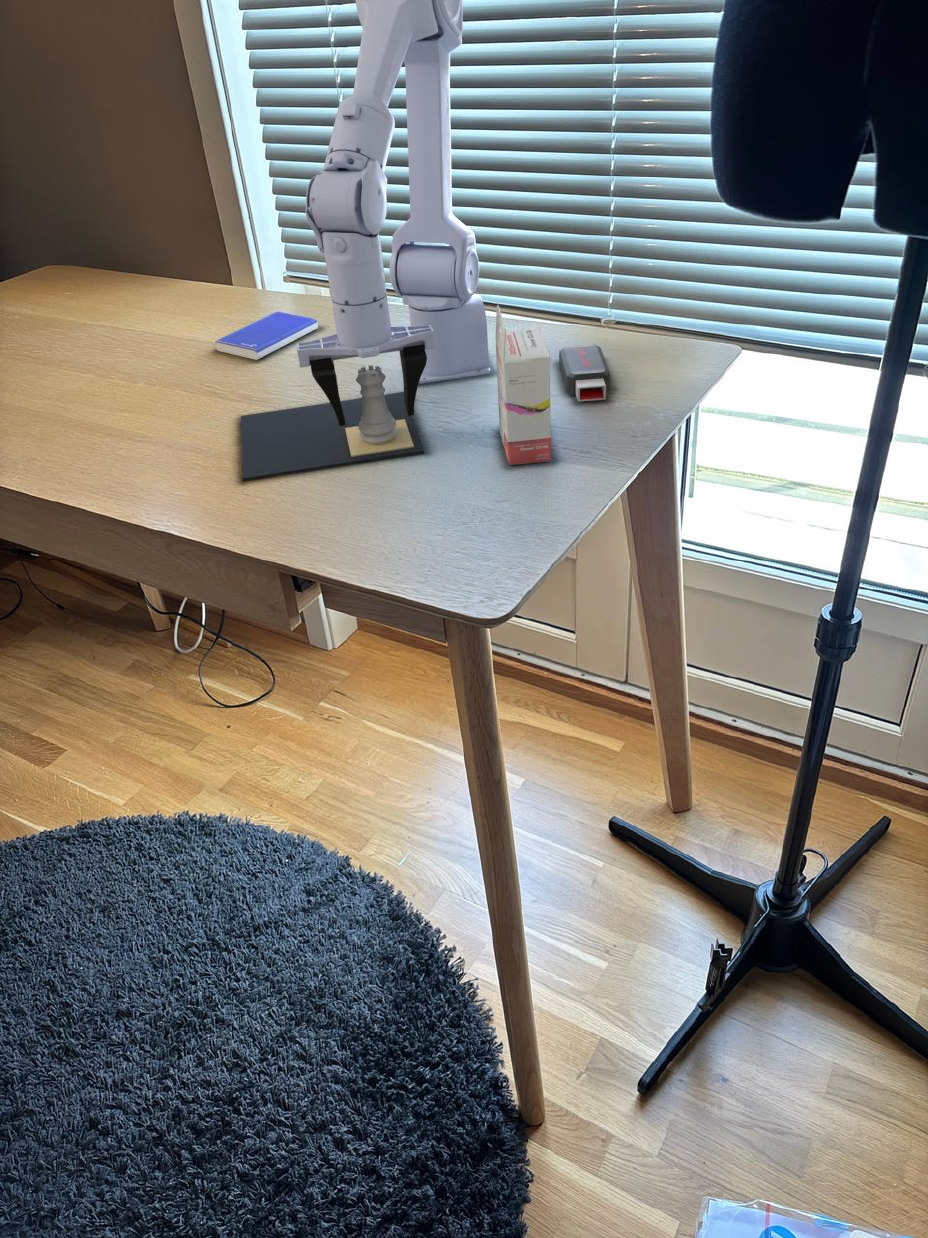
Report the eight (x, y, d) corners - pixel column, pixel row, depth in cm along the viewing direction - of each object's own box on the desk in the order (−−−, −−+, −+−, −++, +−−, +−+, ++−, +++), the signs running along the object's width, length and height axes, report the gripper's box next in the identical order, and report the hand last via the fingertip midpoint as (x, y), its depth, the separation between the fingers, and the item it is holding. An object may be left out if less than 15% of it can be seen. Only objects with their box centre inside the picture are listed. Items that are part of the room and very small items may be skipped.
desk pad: (404, 394, 118) (403, 390, 118) (424, 453, 106) (423, 448, 105) (241, 418, 116) (240, 414, 116) (242, 481, 104) (241, 476, 103)
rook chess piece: (392, 446, 106) (383, 378, 101) (354, 445, 107) (343, 377, 102) (402, 428, 110) (394, 361, 105) (365, 427, 111) (355, 361, 106)
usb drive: (599, 360, 122) (600, 339, 121) (613, 400, 113) (614, 378, 111) (559, 363, 122) (558, 342, 121) (569, 404, 113) (569, 382, 111)
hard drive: (256, 349, 129) (316, 318, 137) (214, 339, 133) (275, 310, 141) (258, 360, 130) (318, 329, 138) (216, 350, 134) (277, 320, 142)
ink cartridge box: (554, 462, 102) (552, 327, 93) (507, 467, 102) (501, 332, 93) (542, 426, 109) (539, 297, 100) (498, 431, 109) (491, 302, 100)
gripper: (290, 318, 95) (313, 442, 103) (434, 298, 96) (445, 422, 105) (287, 295, 100) (309, 414, 109) (423, 277, 102) (435, 396, 110)
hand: (375, 416), depth 107 cm, fingers open, 7 cm apart
